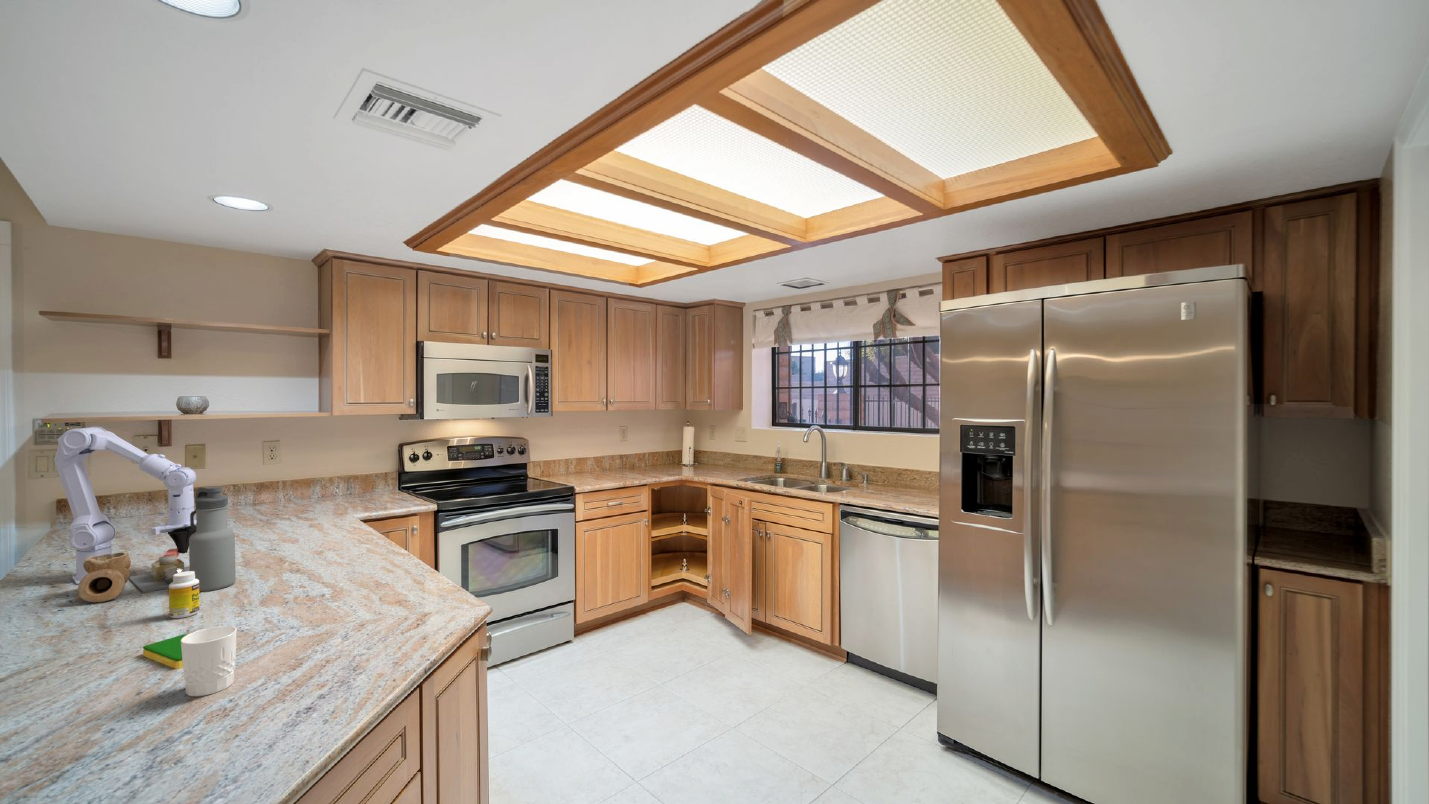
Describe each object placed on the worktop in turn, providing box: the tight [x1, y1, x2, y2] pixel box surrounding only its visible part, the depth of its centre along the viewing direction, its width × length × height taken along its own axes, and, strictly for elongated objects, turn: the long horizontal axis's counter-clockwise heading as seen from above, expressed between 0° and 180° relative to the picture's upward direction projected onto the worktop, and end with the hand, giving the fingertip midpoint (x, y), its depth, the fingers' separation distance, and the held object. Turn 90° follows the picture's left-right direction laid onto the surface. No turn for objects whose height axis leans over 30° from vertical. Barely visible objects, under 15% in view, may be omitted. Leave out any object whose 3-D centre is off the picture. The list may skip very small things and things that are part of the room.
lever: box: [158, 547, 181, 564], centre depth 175 cm, size 12×4×2 cm, turn 34°
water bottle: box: [188, 485, 237, 593], centre depth 165 cm, size 10×10×28 cm
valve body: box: [151, 558, 185, 585], centre depth 172 cm, size 16×6×5 cm, turn 53°
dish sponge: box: [142, 633, 187, 670], centre depth 123 cm, size 7×14×2 cm, turn 65°
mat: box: [129, 565, 190, 594], centre depth 173 cm, size 20×17×1 cm
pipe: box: [77, 551, 132, 603], centre depth 158 cm, size 9×16×10 cm, turn 40°
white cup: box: [181, 625, 238, 697], centre depth 110 cm, size 8×8×10 cm
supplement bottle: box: [168, 571, 201, 619], centre depth 145 cm, size 6×6×10 cm
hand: (183, 552), depth 179 cm, fingers closed
